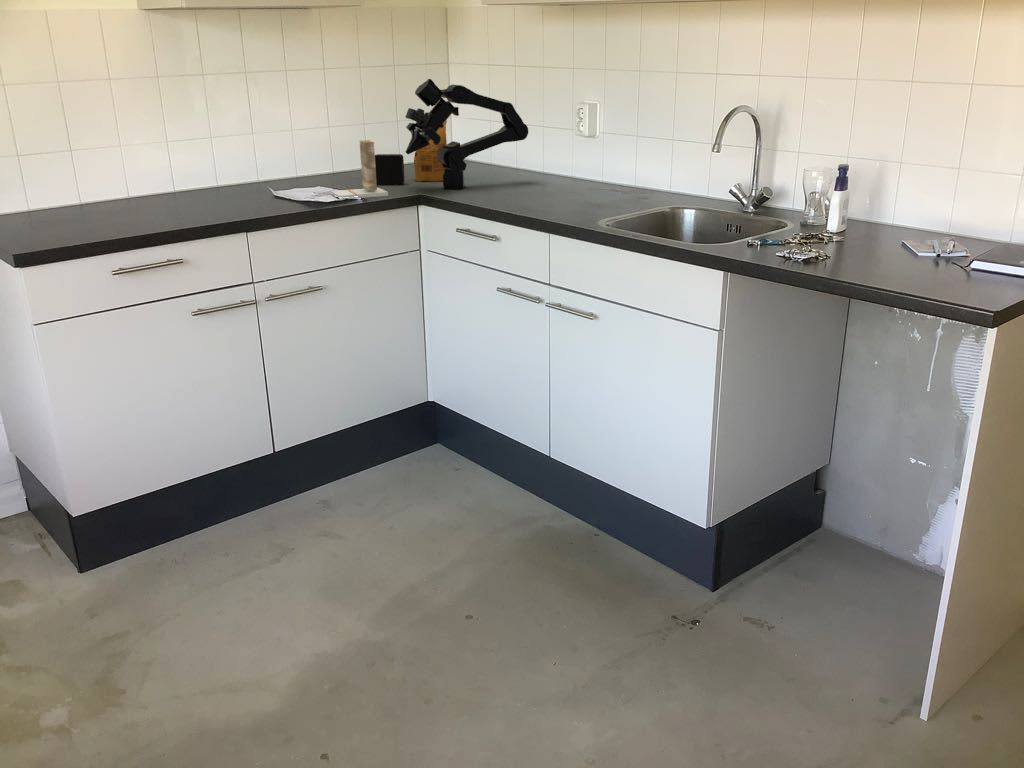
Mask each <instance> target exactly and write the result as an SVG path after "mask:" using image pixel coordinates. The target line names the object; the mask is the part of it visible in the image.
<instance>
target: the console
mask: <svg viewBox="0 0 1024 768" xmlns="http://www.w3.org/2000/svg"><path fill="white" fill-rule="evenodd" d="M330 193H333V194H334V195H336V196H338V197H354V196H358V197H362V198H361V199H363V198H364V199H366V198H375V197H376V198H377V197H388V196H389V192H388V191H386V190H385V189H383V188H380V187H377V190H370V191H368V190H366V189H364V188H357V189H355V188H354V189H349V188H347V189H343V190H333V191H332V190H331V192H330Z"/></svg>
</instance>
